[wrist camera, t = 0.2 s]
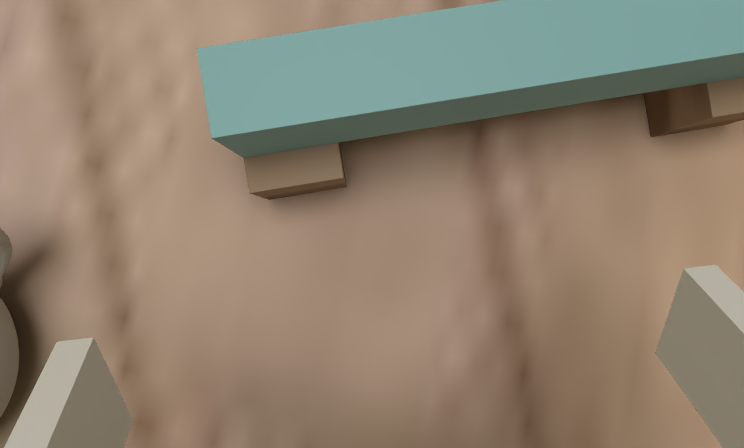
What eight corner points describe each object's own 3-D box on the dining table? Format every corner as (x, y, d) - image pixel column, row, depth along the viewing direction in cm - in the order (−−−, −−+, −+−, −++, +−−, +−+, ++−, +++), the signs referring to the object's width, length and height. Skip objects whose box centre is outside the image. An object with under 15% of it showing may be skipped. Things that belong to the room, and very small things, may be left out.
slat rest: (726, 124, 29) (803, 102, 24) (269, 199, 28) (249, 193, 23) (706, 11, 29) (780, -35, 24) (250, 83, 28) (226, 52, 23)
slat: (797, 68, 24) (914, 24, 19) (243, 157, 23) (211, 138, 18) (785, -1, 24) (899, -63, 19) (232, 87, 23) (196, 48, 18)
